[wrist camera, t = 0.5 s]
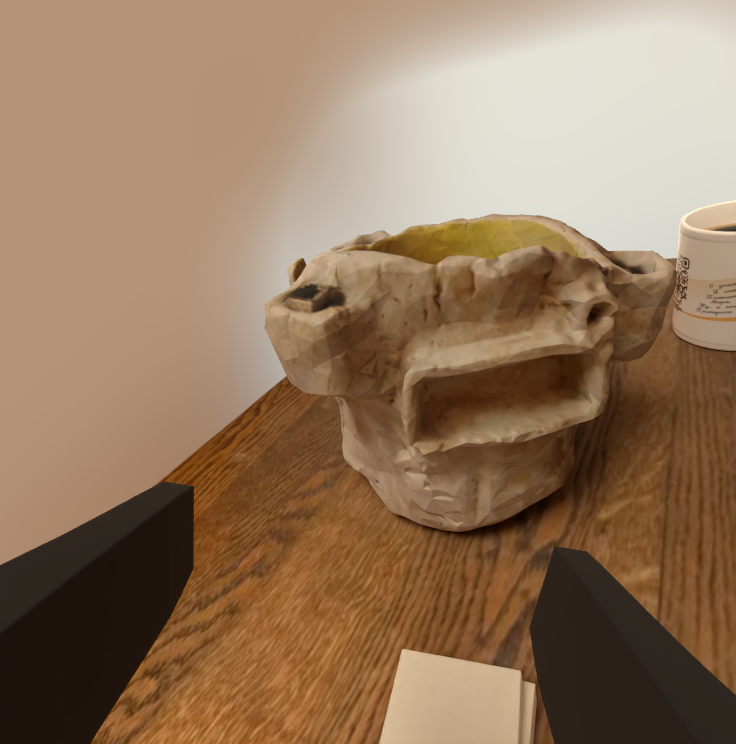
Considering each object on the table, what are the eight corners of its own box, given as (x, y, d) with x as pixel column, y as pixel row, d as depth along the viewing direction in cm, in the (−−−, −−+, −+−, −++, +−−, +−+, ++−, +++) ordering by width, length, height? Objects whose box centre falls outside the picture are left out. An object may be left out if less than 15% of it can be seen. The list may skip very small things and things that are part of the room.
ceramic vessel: (556, 266, 48) (643, 5, 25) (635, 512, 39) (886, 453, 16) (339, 310, 51) (240, 109, 28) (366, 549, 42) (253, 543, 19)
